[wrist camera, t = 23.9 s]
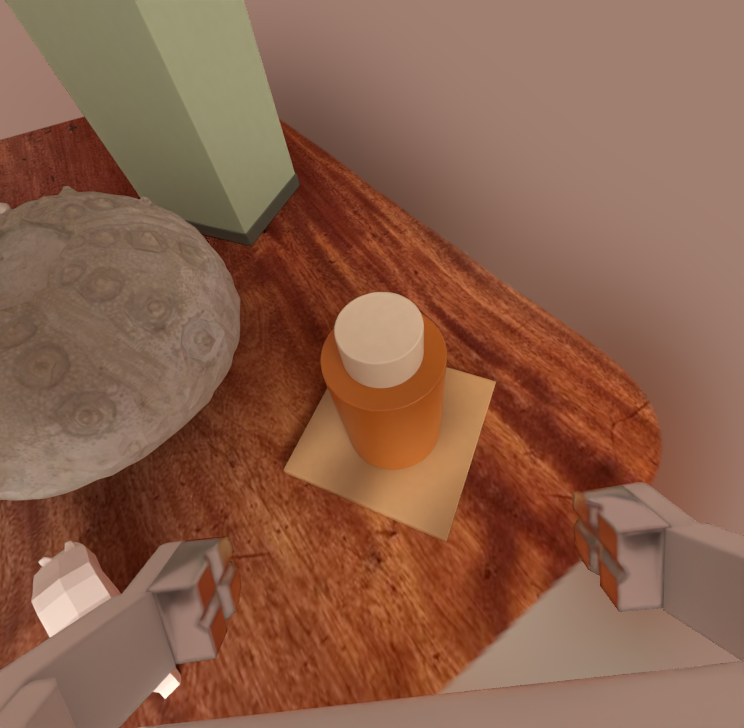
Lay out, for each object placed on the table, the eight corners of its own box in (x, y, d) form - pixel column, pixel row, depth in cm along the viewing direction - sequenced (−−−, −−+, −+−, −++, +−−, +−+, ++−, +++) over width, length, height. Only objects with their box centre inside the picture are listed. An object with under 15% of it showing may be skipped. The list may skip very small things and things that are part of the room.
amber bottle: (390, 490, 20) (370, 417, 12) (330, 422, 22) (282, 325, 14) (459, 427, 21) (480, 325, 13) (396, 369, 23) (384, 254, 16)
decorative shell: (28, 594, 19) (-277, 584, 11) (-36, 372, 28) (-240, 268, 19) (315, 374, 24) (257, 249, 16) (188, 241, 32) (105, 112, 24)
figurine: (129, 738, 16) (83, 740, 12) (50, 580, 19) (-3, 547, 16) (187, 682, 17) (160, 670, 14) (105, 543, 20) (67, 506, 17)
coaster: (285, 473, 21) (282, 470, 21) (354, 344, 25) (353, 338, 25) (446, 543, 19) (446, 541, 18) (494, 386, 23) (496, 381, 22)
